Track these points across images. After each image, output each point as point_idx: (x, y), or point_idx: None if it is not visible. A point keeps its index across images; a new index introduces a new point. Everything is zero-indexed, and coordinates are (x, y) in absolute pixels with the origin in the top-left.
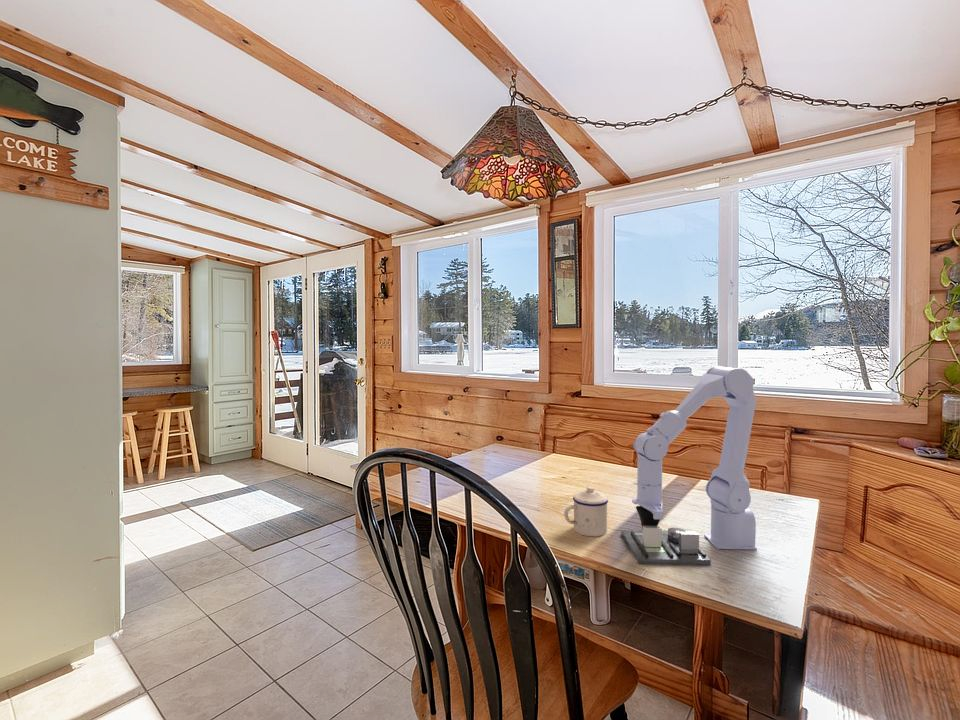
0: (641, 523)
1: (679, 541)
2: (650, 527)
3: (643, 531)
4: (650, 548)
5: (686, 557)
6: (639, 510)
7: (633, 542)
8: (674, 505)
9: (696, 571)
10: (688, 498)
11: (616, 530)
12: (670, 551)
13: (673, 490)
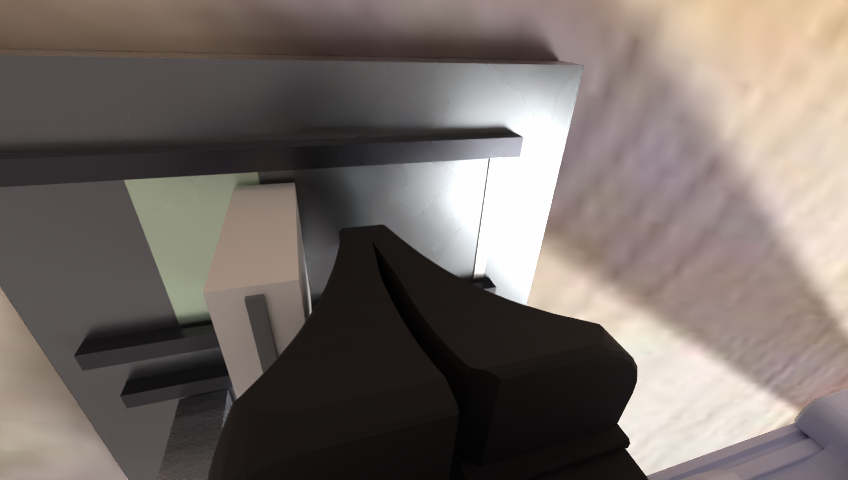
0: (428, 265)
1: (206, 454)
2: (255, 352)
3: (264, 249)
4: (219, 228)
5: (131, 416)
6: (345, 445)
7: (334, 109)
8: (739, 368)
9: (16, 424)
10: (756, 403)
11: (632, 41)
12: (150, 357)
13: (825, 371)
